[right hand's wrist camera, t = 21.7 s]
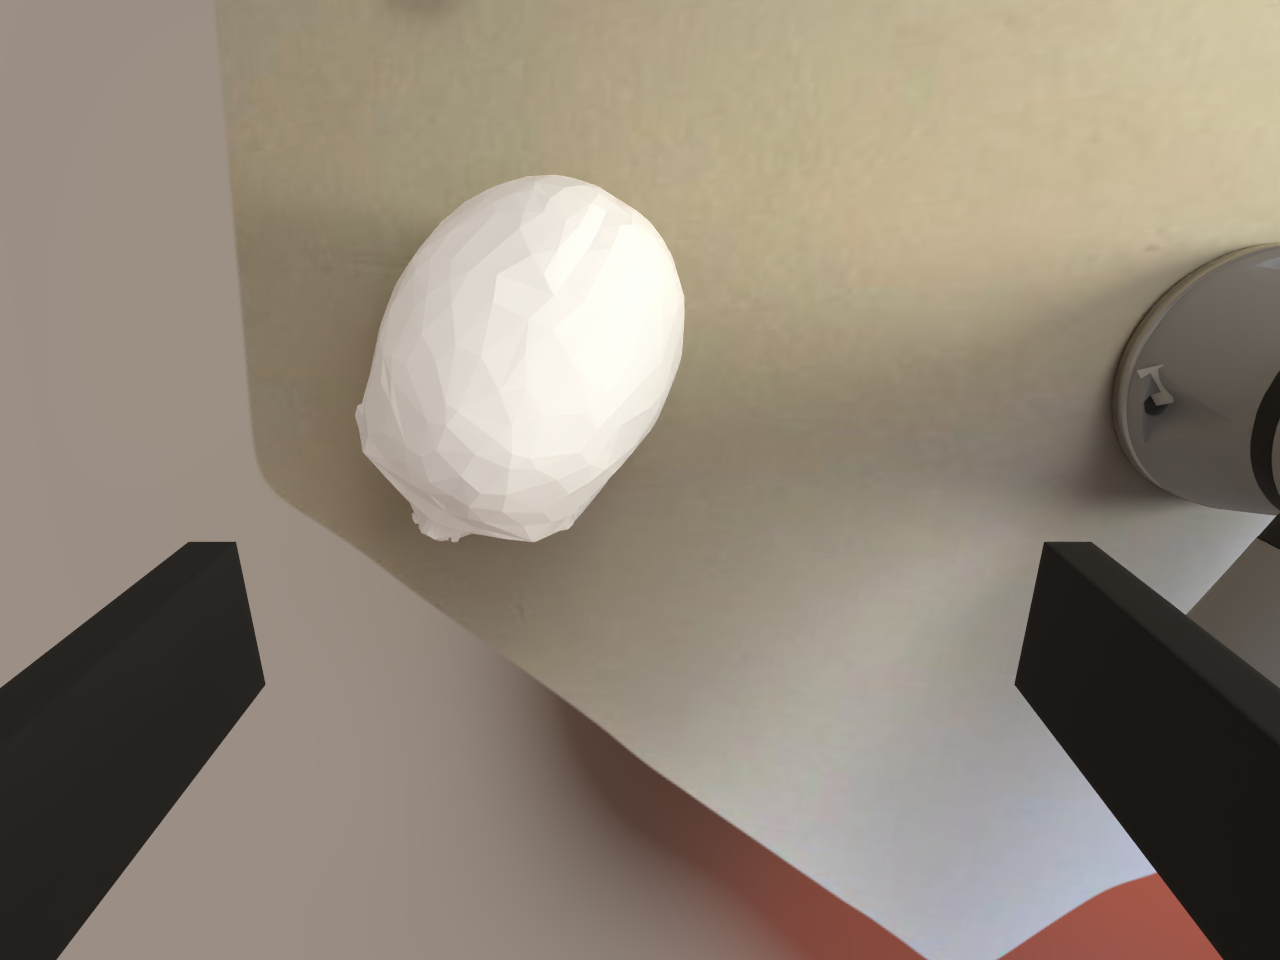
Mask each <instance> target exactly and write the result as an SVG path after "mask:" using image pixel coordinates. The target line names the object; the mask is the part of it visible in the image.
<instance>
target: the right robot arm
mask: <svg viewBox="0 0 1280 960" xmlns="http://www.w3.org/2000/svg"><path fill="white" fill-rule="evenodd" d="M1112 411H1113V421H1114V427H1115V431H1116V434H1117V438H1118V441H1119V443H1120V445H1121V447H1122V450H1123V452H1124V453H1125V455H1126V456H1127V458H1128V460H1129V461H1130V462H1131V464H1132V465H1133V466H1134V467H1135V468H1136V469H1137V470H1138V471H1139V472H1140V473H1141V474H1142V475H1143V476H1144V477H1145V478H1147V479H1148V480H1149V481H1151V482H1152V483H1154V484H1156V485H1157V486H1159V487H1161V488H1163V489H1164V490H1166V491H1168V492H1170V493H1171V494H1173V495H1175V496H1178V497H1180V498H1182V499H1184V500H1188V501H1191V502H1194V503H1197V504H1200V505H1203V506H1208V507H1212V508H1218V509H1226V510H1233V511H1242V512H1251V513H1259V514H1268V515H1276V517H1275V518H1274V519H1273V521H1272V522H1271V523H1270V524H1269V525H1268V526H1267V527H1266V528H1265V529H1264V531H1263V532H1262V533H1261V534H1260V535H1259V536H1258V537H1257V538H1256V539H1255V540H1254V541H1253V542H1252V543H1251V544H1250V546H1249V547H1248V548H1247V549H1246V550H1245V551H1244V552H1243V553H1242V554H1241V556H1240V557H1239V558H1238V559H1237V560H1236V561H1235V562H1234V563H1233V565H1232V566H1231V567H1230V568H1229V569H1228V570H1227V571H1226V572H1225V573H1224V574H1223V575H1222V577H1221V578H1220V579H1219V580H1218V581H1217V582H1216V583H1215V584H1214V585H1213V586H1212V587H1211V588H1210V590H1209V591H1208V592H1207V593H1206V594H1205V595H1204V596H1203V597H1202V598H1201V599H1200V600H1199V602H1198V603H1197V604H1196V605H1195V606H1194V607H1193V608H1192V609H1191V610H1190V611H1189V612H1188V613H1187V615H1185V614H1184V613H1182V612H1181V611H1180V610H1178V609H1177V608H1176V607H1174V606H1173V605H1172V604H1171V603H1169V602H1168V601H1167V600H1165V599H1164V598H1163V597H1162V596H1160V595H1159V594H1158V593H1156V592H1155V591H1154V590H1153V589H1151V588H1150V587H1149V586H1147V585H1146V584H1145V583H1144V582H1142V581H1141V580H1140V579H1138V578H1137V577H1136V576H1135V575H1133V574H1132V573H1131V572H1129V571H1128V570H1127V569H1126V568H1124V567H1123V566H1122V565H1120V564H1119V563H1118V562H1117V561H1115V560H1114V559H1113V558H1111V557H1110V556H1109V555H1108V554H1106V553H1105V552H1104V551H1102V550H1101V549H1100V548H1098V547H1097V546H1096V545H1095V544H1093V543H1092V542H1044V545H1043V550H1042V555H1041V559H1040V564H1039V569H1038V574H1037V579H1036V583H1035V588H1034V593H1033V598H1032V603H1031V608H1030V612H1029V617H1028V622H1027V627H1026V632H1025V637H1024V641H1023V646H1022V651H1021V656H1020V661H1019V665H1018V670H1017V675H1016V680H1015V686H1016V687H1017V688H1018V690H1019V691H1020V692H1021V694H1022V695H1023V696H1024V698H1025V699H1026V700H1027V702H1028V703H1029V704H1030V706H1031V707H1032V708H1033V709H1034V711H1035V712H1036V713H1037V715H1038V716H1039V717H1040V719H1041V720H1042V721H1043V723H1044V724H1045V725H1046V727H1047V728H1048V729H1049V731H1050V732H1051V733H1052V734H1053V736H1054V737H1055V738H1056V740H1057V741H1058V742H1059V744H1060V745H1061V746H1062V748H1063V749H1064V750H1065V752H1066V753H1067V754H1068V756H1069V757H1070V758H1071V759H1072V761H1073V762H1074V763H1075V765H1076V766H1077V767H1078V769H1079V770H1080V771H1081V773H1082V774H1083V775H1084V777H1085V778H1086V779H1087V781H1088V782H1089V783H1090V784H1091V786H1092V787H1093V788H1094V790H1095V791H1096V792H1097V794H1098V795H1099V796H1100V798H1101V799H1102V800H1103V802H1104V803H1105V804H1106V806H1107V807H1108V808H1109V809H1110V811H1111V812H1112V813H1113V815H1114V816H1115V817H1116V819H1117V820H1118V821H1119V823H1120V824H1121V825H1122V827H1123V828H1124V829H1125V831H1126V832H1127V833H1128V835H1129V836H1130V837H1131V838H1132V840H1133V841H1134V842H1135V844H1136V845H1137V846H1138V848H1139V849H1140V850H1141V852H1142V853H1143V854H1144V856H1145V857H1146V858H1147V860H1148V861H1149V862H1150V863H1151V865H1152V866H1153V867H1154V869H1155V870H1156V871H1157V873H1158V874H1159V875H1160V876H1161V878H1162V879H1163V881H1164V882H1165V883H1166V885H1167V886H1168V887H1169V888H1170V890H1171V891H1172V892H1173V894H1174V895H1175V896H1176V898H1177V899H1178V900H1179V902H1180V903H1181V904H1182V906H1183V907H1184V908H1185V909H1186V911H1187V912H1188V913H1189V915H1190V916H1191V917H1192V919H1193V920H1194V921H1195V923H1196V924H1197V925H1198V927H1199V928H1200V929H1201V931H1202V932H1203V933H1204V935H1205V936H1206V937H1207V938H1208V940H1209V941H1210V942H1211V944H1212V945H1213V946H1214V948H1215V949H1216V950H1217V952H1218V953H1219V954H1220V956H1221V957H1222V958H1223V960H1280V243H1272V244H1263V245H1257V246H1252V247H1248V248H1244V249H1241V250H1237V251H1234V252H1232V253H1229V254H1227V255H1224V256H1221V257H1219V258H1217V259H1215V260H1213V261H1211V262H1209V263H1207V264H1205V265H1204V266H1202V267H1200V268H1199V269H1197V270H1195V271H1194V272H1192V273H1191V274H1189V275H1188V276H1186V277H1185V278H1184V279H1182V280H1181V281H1180V282H1179V283H1177V284H1176V285H1175V286H1174V287H1172V288H1171V289H1170V290H1169V291H1168V292H1167V293H1166V294H1165V295H1164V296H1163V297H1162V298H1161V299H1160V300H1159V301H1158V302H1157V303H1156V304H1155V305H1154V306H1153V307H1152V309H1151V310H1150V311H1149V312H1148V314H1147V315H1146V316H1145V317H1144V319H1143V320H1142V321H1141V323H1140V324H1139V326H1138V327H1137V329H1136V330H1135V332H1134V334H1133V335H1132V337H1131V339H1130V341H1129V343H1128V345H1127V347H1126V349H1125V351H1124V354H1123V356H1122V358H1121V361H1120V364H1119V367H1118V370H1117V374H1116V378H1115V382H1114V389H1113V399H1112ZM1267 543H1268V544H1267ZM1269 544H1270V545H1269ZM1271 545H1272V546H1271ZM1273 546H1274V547H1273ZM1276 548H1277V549H1276ZM1278 549H1279V550H1278ZM264 686H265V680H264V675H263V670H262V665H261V661H260V656H259V651H258V646H257V641H256V637H255V632H254V627H253V622H252V617H251V612H250V608H249V603H248V598H247V593H246V588H245V583H244V579H243V574H242V569H241V564H240V559H239V555H238V550H237V545H236V542H188V543H187V544H185V545H184V546H183V547H182V548H180V549H179V550H178V551H176V552H175V553H174V554H173V555H171V556H170V557H169V558H167V559H166V560H165V561H163V562H162V563H161V564H160V565H158V566H157V567H156V568H154V569H153V570H152V571H151V572H149V573H148V574H147V575H146V576H144V577H143V578H142V579H140V580H139V581H138V582H136V583H135V584H134V585H133V586H131V587H130V588H129V589H127V590H126V591H125V592H124V593H122V594H121V595H120V596H118V597H117V598H116V599H115V600H113V601H112V602H111V603H109V604H108V605H107V606H106V607H104V608H103V609H102V610H100V611H99V612H98V613H97V614H95V615H94V616H93V617H91V618H90V619H89V620H88V621H86V622H85V623H84V624H82V625H81V626H80V627H79V628H77V629H76V630H75V631H73V632H72V633H71V634H70V635H68V636H67V637H66V638H64V639H63V640H62V641H60V642H59V643H58V644H57V645H55V646H54V647H53V648H51V649H50V650H49V651H48V652H46V653H45V654H44V655H42V656H41V657H40V658H39V659H37V660H36V661H35V662H33V663H32V664H31V665H30V666H28V667H27V668H26V669H24V670H23V671H22V672H20V673H19V674H18V675H17V676H15V677H14V678H13V679H11V680H10V681H9V682H8V683H6V684H5V685H4V686H2V687H1V688H0V960H56V959H57V958H58V957H59V956H60V954H61V953H62V952H63V950H64V949H65V948H66V946H67V945H68V944H69V942H70V941H71V940H72V938H73V937H74V936H75V935H76V933H77V932H78V931H79V929H80V928H81V927H82V925H83V924H84V923H85V921H86V920H87V919H88V917H89V916H90V915H91V913H92V912H93V911H94V910H95V908H96V907H97V906H98V904H99V903H100V902H101V900H102V899H103V898H104V896H105V895H106V894H107V892H108V891H109V890H110V888H111V887H112V886H113V884H114V883H115V882H116V881H117V879H118V878H119V877H120V875H121V874H122V873H123V871H124V870H125V869H126V867H127V866H128V865H129V863H130V862H131V861H132V860H133V858H134V857H135V856H136V854H137V853H138V852H139V850H140V849H141V848H142V846H143V845H144V844H145V842H146V841H147V840H148V838H149V837H150V836H151V835H152V833H153V832H154V831H155V829H156V828H157V827H158V825H159V824H160V823H161V821H162V820H163V819H164V817H165V816H166V815H167V813H168V812H169V811H170V809H171V808H172V807H173V806H174V804H175V803H176V802H177V800H178V799H179V798H180V796H181V795H182V794H183V792H184V791H185V790H186V788H187V787H188V786H189V784H190V783H191V782H192V780H193V779H194V778H195V777H196V775H197V774H198V773H199V771H200V770H201V769H202V767H203V766H204V765H205V763H206V762H207V761H208V759H209V758H210V757H211V755H212V754H213V753H214V752H215V750H216V749H217V748H218V746H219V745H220V744H221V742H222V741H223V740H224V738H225V737H226V736H227V734H228V733H229V732H230V731H231V729H232V728H233V727H234V725H235V724H236V723H237V721H238V720H239V719H240V717H241V716H242V715H243V713H244V712H245V711H246V709H247V708H248V707H249V706H250V704H251V703H252V702H253V700H254V699H255V698H256V696H257V695H258V694H259V692H260V691H261V690H262V688H263V687H264Z"/></svg>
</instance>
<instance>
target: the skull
mask: <svg viewBox="0 0 1280 960" xmlns="http://www.w3.org/2000/svg"><path fill="white" fill-rule="evenodd" d="M683 331H684V294H683V291H682V287H681V284H680V281H679V277H678V274H677V271H676V267H675V264H674V261H673V257H672V255H671V253H670V251H669V249H668V248H667V246H666V244H665V242H664V240H663V239H662V237H661V236H660V235H659V233H658V232H657V231H656V229H655V228H654V227H653V225H652V224H651V223H650V222H649V221H648V220H647V219H646V218H645V217H643V216H642V215H641V214H640V213H639V212H638V211H636V210H635V209H633V208H631V207H630V206H628V205H627V204H625V203H624V202H622V201H620V200H619V199H617V198H616V197H614V196H613V195H611V194H610V193H608V192H606V191H605V190H603V189H602V188H600V187H599V186H596V185H593V184H590V183H587V182H584V181H580V180H577V179H574V178H571V177H565V176H559V175H542V176H527V177H523V178H519V179H516V180H513V181H509V182H506V183H502V184H499V185H496V186H494V187H492V188H490V189H488V190H485V191H484V192H482V193H480V194H478V195H476V196H475V197H473V198H471V199H469V200H467V201H465V202H464V203H463V204H461V205H460V206H459V207H458V208H457V209H456V210H455V211H453V212H452V213H451V214H450V215H449V216H447V217H446V218H445V219H444V220H443V221H442V222H440V224H439V225H438V226H437V227H436V228H435V230H434V231H433V232H432V233H431V234H430V236H429V237H428V238H427V239H426V240H425V242H424V243H423V244H422V245H421V246H420V248H419V249H418V250H417V252H416V253H415V255H414V256H413V258H412V259H411V261H410V262H409V264H408V265H407V267H406V268H405V270H404V271H403V273H402V275H401V276H400V278H399V280H398V281H397V283H396V285H395V287H394V290H393V292H392V295H391V298H390V300H389V303H388V306H387V308H386V311H385V314H384V316H383V319H382V322H381V325H380V329H379V333H378V338H377V342H376V347H375V352H374V357H373V362H372V366H371V371H370V375H369V379H368V383H367V386H366V390H365V394H364V397H363V401H362V404H360V405H358V406H357V409H356V413H355V417H356V421H357V424H358V428H359V432H360V439H361V445H362V452H363V453H364V454H365V455H366V456H367V457H368V458H369V459H370V461H371V462H372V463H373V464H374V465H375V466H376V467H377V468H378V469H379V470H380V471H381V473H382V474H383V475H384V476H385V477H386V478H387V479H388V480H389V481H390V482H391V483H392V485H393V486H394V487H395V488H396V489H397V490H398V491H399V492H400V493H401V494H402V495H403V496H404V497H405V498H406V499H407V500H408V501H409V502H410V504H411V507H412V509H413V511H414V513H412V519H413V521H414V523H415V524H419V527H418V529H420V531H421V533H423V534H425V535H427V536H429V537H431V538H432V539H434V540H438V541H445V540H448V541H449V539H448V538H451V539H450V541H452V542H458V540H459V539H460V538H461V537H464V536H467V535H469V534H478V535H484V536H490V537H495V538H501V539H508V540H517V541H526V542H536V541H538V540H541V539H543V538H545V537H547V536H549V535H552V534H554V533H556V532H558V531H563V530H567V529H569V528H570V527H571V526H572V525H573V524H574V521H575V520H576V519H577V518H578V517H579V516H580V515H581V513H582V512H583V511H584V510H585V509H586V507H587V506H588V505H589V504H590V503H591V502H592V500H593V499H594V498H595V497H596V496H597V494H598V493H599V492H600V490H601V489H602V488H603V487H604V485H605V484H606V483H607V481H608V479H609V478H610V477H611V476H612V475H613V474H614V473H615V472H616V471H617V470H618V469H619V468H620V467H621V466H622V465H623V463H624V462H625V461H626V460H627V459H628V457H629V456H630V455H631V454H632V453H633V451H634V450H635V449H636V448H637V446H638V445H639V444H640V443H641V442H642V440H643V439H644V438H645V437H646V435H647V434H648V433H649V432H650V431H651V429H652V428H653V426H654V424H655V423H656V421H657V419H658V417H659V415H660V412H661V410H662V408H663V405H664V403H665V401H666V398H667V396H668V394H669V391H670V389H671V386H672V383H673V381H674V378H675V375H676V373H677V370H678V367H679V364H680V361H681V358H682V346H683Z"/></svg>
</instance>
